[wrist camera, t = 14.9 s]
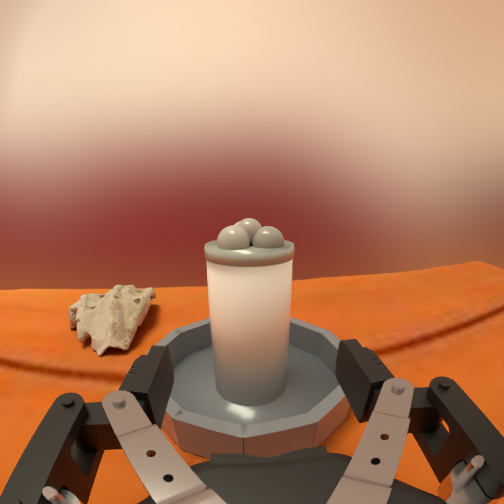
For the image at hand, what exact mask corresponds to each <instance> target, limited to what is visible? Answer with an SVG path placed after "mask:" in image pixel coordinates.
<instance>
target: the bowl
mask: <svg viewBox="0 0 504 504" xmlns="http://www.w3.org/2000/svg"><path fill="white" fill-rule="evenodd" d="M339 342H340V340H339V339H338V338H337V337H336V336H335V335H334V334H333V333H332V332H331V331H329V330H326V329H323V328H321V327H318V326H315V325H312V324H309V323H306V322H304V321H301V320H298V319H295V318H290V330H289V347H288V363H287V377H286V387H285V390H284V392H283V393H282V395H281V396H280V397H278V398H277V399H276V400H274V401H272V402H270V403H267V404H263V405H258V406H243V405H237V404H234V403H231V402H229V401H227V400H225V399H224V398H223V397H221V396H220V394H219V393H218V392H217V389H216V384H215V374H214V363H213V352H212V339H211V326H210V318H208V319H205V320H202V321H199V322H196V323H193V324H189V325H186V326H183V327H180V328H177V329H174V330H173V331H171V332H170V333H169V334H168V335H166V336H165V337H164V338H163V339H162V340H160V341H159V342H158V343H157V344H155V346H168V347H169V350H170V356H171V361H172V367H173V373H174V384H173V388H172V391H171V394H170V398H169V401H168V405H167V408H166V412H165V415H164V419H163V422H162V426H161V427H162V428H163V429H164V431H165V432H166V433H167V434H168V435H169V437H170V438H171V439H172V440H173V441H174V442H175V443H176V444H177V446H178V447H179V448H180V449H181V450H183V451H186V452H189V453H192V454H195V455H198V456H201V457H204V458H208V459H211V453H215V454H245V455H252V456H259V457H267V458H270V457H275V456H278V455H282V454H285V453H288V452H292V451H295V450H298V449H305V448H312V447H319V446H320V445H321V444H322V443H323V442H324V441H325V440H326V439H327V438H328V437H329V436H330V435H331V434H332V433H333V432H334V431H335V430H336V429H337V428H338V427H339V426H340V425H341V424H342V423H343V422H344V421H345V419H346V418H347V414H348V411H349V407H350V404H349V402H348V400H347V398H346V396H345V394H344V392H343V390H342V388H341V386H340V384H339V383H338V381H337V379H336V375H335V365H336V359H337V353H338V346H339ZM149 351H150V349H149V350H148V351H147V355H148V353H149Z"/></svg>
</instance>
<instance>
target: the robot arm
mask: <svg viewBox="0 0 504 504" xmlns="http://www.w3.org/2000/svg"><path fill="white" fill-rule="evenodd" d="M335 375H336V379H337V381H338V383H339V384H340V386H341V388H342V390H343V392H344V394H345V396H346V398H347V400H348V402H349V404H350V406H351V408H352V410H353V412H354V414H355V416H356V417H357V419H358V421H359V423H362V422H366V421H369V422H368V424H367V426H366V429H365V431H364V433H363V436H362V438H361V440H360V442H359V444H358V447H357V449H356V451H355V453H354V455H353V457H350V456H346V455H343V454H338V453H327V450H326V447H325V446H319V447H312V448H305V449H298V450H295V451H292V452H288V453H285V454H282V455H278V456H275V457H270V458H267V457H259V456H252V455H245V454H215V453H211V459H210V461H206V462H202V463H199V464H196V465H193V466H191V467H189V466H188V465H187V464H186V463H185V461H184V460H183V459H182V458H181V456H180V455H179V454H178V453H177V451H176V450H175V449H174V448H173V446H172V445H171V444H170V442H169V441H168V440H167V438H166V437H165V436H164V434H163V433H162V432H161V426H162V422H163V419H164V415H165V412H166V408H167V405H168V401H169V398H170V394H171V391H172V388H173V384H174V373H173V367H172V361H171V356H170V350H169V347H168V346H155V345H153V346H152V347H151V349H150V351H149V353H148V355H141V356H140V357H139V358H137V359H136V360H135V361H134V363H133V364H132V366H131V368H130V370H129V372H128V374H127V375H126V377H125V379H124V381H123V383H122V385H121V386H120V388H119V390H118V391H113V392H111V393H109V394H107V395H106V396H105V397H104V398H103V400H102V402H94V403H85V402H84V400H83V398H82V397H81V396H80V395H79V394H76V393H65V394H62V395H60V396H59V397H58V398H56V400H55V401H54V403H53V404H52V406H51V407H50V409H49V410H48V412H47V414H46V415H45V417H44V418H43V420H42V422H41V423H40V425H39V427H38V428H37V430H36V431H35V433H34V435H33V437H32V438H31V440H30V442H29V443H28V445H27V447H26V449H25V450H24V452H23V454H22V456H21V458H20V459H19V461H18V463H17V465H16V467H15V469H14V471H13V472H12V474H11V476H10V478H9V480H8V482H7V484H6V486H5V488H4V490H3V492H2V495H1V497H0V504H87V503H88V499H89V496H90V493H91V489H92V486H93V483H94V480H95V477H96V473H97V470H98V467H99V464H100V461H101V458H102V455H103V452H104V450H111V449H123V451H124V453H125V455H126V457H127V458H128V460H129V462H130V464H131V466H132V467H133V469H134V471H135V472H136V474H137V476H138V477H139V479H140V481H141V482H142V484H143V486H144V487H145V489H146V490H147V492H148V493H149V495H150V496H148V497H147V498H145V499H144V500H142V501H141V502H139V503H138V504H496V503H497V502H498V501H499V500H500V499H502V498H503V497H504V437H503V436H502V435H501V434H500V432H499V431H498V430H497V429H496V428H495V426H494V425H493V424H492V423H491V422H490V421H489V419H488V418H487V417H486V416H485V415H484V414H483V412H482V411H481V410H480V409H479V408H478V407H477V406H476V404H475V403H474V402H473V401H472V400H471V399H470V398H469V397H468V395H467V394H466V393H465V392H464V391H463V390H462V389H461V388H460V387H459V386H458V384H457V383H456V382H455V381H454V380H452V379H450V378H447V377H436V378H434V379H432V380H431V382H430V385H429V387H422V388H414V387H413V385H412V384H411V383H410V382H409V381H407V380H405V379H402V378H395V377H394V376H393V375H392V374H391V372H390V371H389V370H388V369H387V367H386V366H385V365H384V364H383V362H382V361H381V360H380V359H379V357H378V356H377V355H376V354H375V353H374V352H373V351H372V350H370V349H368V348H366V347H364V348H363V347H362V346H361V345H360V343H359V342H358V341H357V340H356V339H350V340H341V341H340V342H339V346H338V353H337V359H336V365H335ZM443 419H444V421H445V422H446V424H447V425H448V427H449V433H448V431H447V430H446V428H445V427H444V426H443V424H442V421H443ZM407 433H412V434H413V436H414V437H415V439H416V441H417V443H418V444H419V446H420V448H421V450H422V452H423V453H424V455H425V457H426V459H427V460H428V462H429V464H430V466H431V468H432V470H433V471H434V473H435V475H436V477H437V479H438V481H439V483H440V485H439V488H438V496H439V497H438V496H435V495H433V494H430V493H427V492H425V491H422V490H420V489H418V488H415V487H413V486H410V485H408V484H406V483H403V482H401V481H399V480H397V479H395V478H394V476H395V474H396V470H397V467H398V464H399V461H400V458H401V454H402V451H403V447H404V443H405V440H406V436H407Z"/></svg>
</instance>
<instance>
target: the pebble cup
mask: <svg viewBox="0 0 504 504" xmlns="http://www.w3.org/2000/svg"><path fill="white" fill-rule="evenodd" d="M293 258H294V244H293V243H292V242H289V241H286V240H284V239H283V236H282V234H281V232H280V231H279V230H278V229H276V228H274V227H270V226H266V227H261V225H260V223H259V222H258V221H257V220H255V219H251V218H247V219H244V220H242V221H241V222H238V223H236V224H235V225H233V226H228V227H226V228H224V229H223V230H222V231H221V232H220V234H219V236H218V238H217V240H215V241H211V242H209V243H206V244H205V259H206V260H207V278H208V296H209V312H210V326H211V339H212V352H213V363H214V374H215V384H216V389H217V392H218V393H219V394H220V396H221V397H223V398H224V399H225V400H227V401H229V402H231V403H234V404H237V405H243V406H258V405H263V404H267V403H270V402H272V401H274V400H276V399H277V398H278V397H280V396H281V395H282V393H283V392H284V390H285V387H286V377H287V363H288V347H289V330H290V310H291V286H292V259H293Z"/></svg>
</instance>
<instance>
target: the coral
mask: <svg viewBox="0 0 504 504" xmlns="http://www.w3.org/2000/svg"><path fill="white" fill-rule="evenodd" d="M153 298H156V293H155V291H154V289H153V288H151V287H150V288H147V289H136V288H135V287H134V286H133V285H129V286H128V285H127V286H122V285H116V286H115V287H114V288H113V289H112V290H110V291H109V292H107V293H106V294H103V295H98V294H96V293H91V294H83V295H82V296H81V297H80V300H79V301H78V302H76V303H75V304H73V305H72V306H71V307H69V311H68V316H69V320H70V328H71V329H72V328H75V327H76V326H77V334H78V339H79V340H80V341H81V342H84V341H85V339H88V338H92V343H91V347H92V348H93V349H94V350H95V351H96V352H97V354H98V355H99V356H101V355H102V354H103V353H104V352H105V350H106V349H107V348H108V347H114V348H121V349H123V350H128V349H129V346H130V344H131V341H132V339H133V337H134V335H135V332H136V331H137V327H139V326H140V325H141V324H142V322H143V320H144V318H145V316H146V315H147V313H148V310H149V307H150V304H151V301H152V299H153Z"/></svg>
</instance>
